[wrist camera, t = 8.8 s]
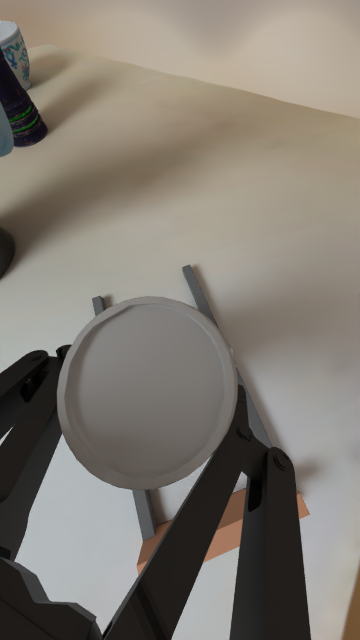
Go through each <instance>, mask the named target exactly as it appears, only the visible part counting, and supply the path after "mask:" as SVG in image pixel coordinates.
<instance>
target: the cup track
mask: <svg viewBox="0 0 360 640" xmlns="http://www.w3.org/2000/svg"><path fill="white" fill-rule="evenodd" d="M182 269H183V273H184V275H185V278H186V280H187V282H188V285H189V287H190V289H191V292H192V294H193V296H194V299H195V301H196V303H197V305H198V308H199V310H200V312H201V313H203V314H204V315H205V316H207V317H208V318H209V319H210V320H211V321H212V322H213V323H214V324H215V325H216V326H217V323H216V321H215V319H214V317H213V315H212V312H211V310H210V308H209V306H208V304H207V301H206V299H205V297H204V295H203V293H202V290H201V288H200V286H199V284H198V282H197V279H196V277H195V275H194V273H193V271H192V268H191V266H190V265H187V266H184V267H182ZM92 301H93V306H94V311H95V315H96V316H97V315H99V314H100V313H102V312H103V311H105V310H106V308H105V304H104V300H103V298H102V297H101V296H98V297H95V298H92ZM217 328H218V326H217ZM218 329H219V328H218ZM236 372H237V379H238V384H240V385H242V386H243V387H244V389H245V391H246V400H247V409H248V420H249V426H250V428H251V430H252V432H253V434H254V436H255V437H256V438H257V439H258V440H259V441H260V442H262V443H263V444H264V445H265V446H267V447H268V448H269V449H270V448H271V447H272V445H271V442H270V440H269V438H268V436H267V433H266V431H265V429H264V427H263V425H262V422H261V420H260V418H259V416H258V414H257V411H256V409H255V407H254V405H253V403H252V400H251V398H250V396H249V394H248V392H247V389H246V387H245V385H244V383H243V381H242V378H241V376H240V374H239V372H238V370H237V367H236ZM132 491H133V496H134V500H135V505H136V510H137V515H138V519H139V524H140V529H141V534H142V538H143V544H142V548H141V551H140V555H139V559H138V563H137V570H138V575H140V573H141V571H142V570H143V568H144V566H145V565H146V563H147V561H148V560H149V558H150V556H151V555H152V553H153V552H154V550H155V548H156V547H157V545H158V543H159V542H160V540H161V538H162V537H163V535H164V533H165V532H166V530H167V528H168V527H169V525H170V524H171V522H172V520H171V521H168V522H166V523H164V524H162V525H159V526H157V525H156V521H155V516H154V512H153V508H152V504H151V499H150V495H149V491H148V490H132ZM296 493H297V503H298V513H299V519H301V518H303V517H305V516H307V515H309V511H308V509H307V507H306V505H305V503H304V501H303V498H302V496H301V494H300V493H299V492H298V490H297V489H296ZM245 495H246V488H245V489H242V490H240V491H238V492H236V493H233V494H232V495H231V497H230V499H229V502H228V504H227V507H226V509H225V511H224V514H223V516H222V518H221V521H220V523H219V526H218V528H217V530H216V533H215V535H214V538H213V540H212V542H211V545H210V547H209V549H208V552H207V554H206V557H205V559H204V561H203V562H206V561H208V560H210V559H212V558H214V557H217V556H219V555H221V554H223V553H225V552H228V551H230V550H232V549H234V548H237V547H239V546H240V540H241V531H242V522H243V513H244V504H245Z"/></svg>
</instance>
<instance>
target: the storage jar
mask: <svg viewBox="0 0 360 640" xmlns="http://www.w3.org/2000/svg"><path fill="white" fill-rule="evenodd" d="M0 102H1V105H2V107H3V109H4V111H5V113H6V116H7V118H8V121H9V123H10V126H11V130H12V133H13V139H14V146H15V147H27V146H31V145H33V144H36V143H37V142H39V141H41V140H42V139H43V138H44V137H45V136H46V134H47V132H48V128H47V126H46V125H45V123H44V122H43V121H42V118H41V116H40V114H39V113H38V110H37V108H36V107H35V105H34V103H33V102H32V101H31V99H30V97H29V95H28V94H27V92H26V90H25V89H24V88H22V86H21V84H20V83H19V81H18V79H17V78H16V76H15V74H14V72H13V71H12V69H11V67H10V66H9V64H8V62H7V61H6V59H5V56H4V53H3V51H2V50H1V47H0Z"/></svg>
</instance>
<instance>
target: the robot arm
mask: <svg viewBox="0 0 360 640" xmlns="http://www.w3.org/2000/svg"><path fill="white" fill-rule="evenodd" d="M13 146H14V139H13V133H12V130H11V126H10V123H9V121H8V118H7V116H6V113H5V111H4V109H3V107H2V105H1V102H0V157H2V156H5V155H7V154H9V153H10V152H11V151H12V149H13ZM13 254H14V241H13V238H12V236H11V235H10V233H9V232H8V231H6V230H5V229H4V228H2V227H1V226H0V276H1V275H2V274H3V273H4V271H5V270H6V269H7V267H8V266H9V264H10V262H11V260H12V257H13ZM71 346H72V345H64V346H61V347H59V348H58V349H57V350H56V353H57V357H52V356H49V355H48V353H47V351H44V350H36V351H33V352H30V353H28V354H26V355H25V356H23V357H22V358H21V359H19V360H18V361H17V362H15V363H14V364H13V365H11V366H10V367H8V368H7V369H6V370H4V371H3V372H2V373H0V440H1V438H2V437H3V436H4V435H5V434H6V433H7V432H8V431H9V430H10V429H11V428H12V427H13V428H12V429H11V431H10V432H9V434H8V435H7V437H6V438H5V440H4V441H3V443H2V444H1V446H0V640H171V638H172V636H173V633H174V631H175V628H176V626H177V623H178V621H179V619H180V616H181V614H182V611H183V609H184V607H185V604H186V602H187V600H188V597H189V595H190V592H191V590H192V588H193V585H194V583H195V580H196V578H197V576H198V573H199V571H200V569H201V566H202V564H203V561H204V559H205V557H206V554H207V552H208V549H209V547H210V545H211V542H212V540H213V538H214V535H215V533H216V530H217V528H218V526H219V523H220V521H221V518H222V516H223V514H224V511H225V509H226V507H227V504H228V502H229V499H230V497H231V495H232V492H233V490H234V488H235V485H236V483H237V480H238V478H239V476H240V473H241V471H242V472H243V473H244V474H246V475H247V476H248V477H247V486H246V495H245V504H244V513H243V522H242V531H241V540H240V549H239V558H238V567H237V576H236V585H235V594H234V603H233V612H232V621H231V630H230V639H229V640H311V634H310V624H309V614H308V604H307V594H306V584H305V574H304V563H303V553H302V543H301V533H300V523H299V513H298V503H297V493H296V483H295V472H294V467H293V464H292V462H291V460H290V458H289V457H288V456H287V455H286V453H285V452H283V451H282V450H281V449H279V448H277V447H271V448H270V449H269V448H268V447H267V446H265V445H264V444H263V443H262V442H260V441H259V440H258V439H257V438H256V437H255V436H254V434H253V432H252V430H251V428H250V427H249V420H248V409H247V400H246V391H245V389H244V387H243V386H242V385H240V384H238V392H237V403H236V407H235V412H234V416H233V419H232V422H231V424H230V427H229V429H228V432H227V433H226V435H225V437H224V438H223V440H222V441H221V443H220V445H219V446H218V448H217V449H216V450H215V452H214V453H213V454H212V456H211V458H210V459H209V461H208V463H207V464H206V466H205V468H204V469H203V471H202V473H201V474H200V476H199V477H198V479H197V481H196V482H195V484H194V486H193V487H192V489H191V491H190V492H189V494H188V496H187V497H186V499H185V500H184V502H183V504H182V505H181V507H180V509H179V510H178V512H177V514H176V515H175V517H174V519H173V520H172V522H171V524H170V525H169V527H168V528H167V530H166V532H165V533H164V535H163V537H162V538H161V540H160V542H159V543H158V545H157V547H156V548H155V550H154V552H153V553H152V555H151V556H150V558H149V560H148V561H147V563H146V565H145V566H144V568H143V570H142V571H141V573H140V575H139V576H138V578H137V579H136V581H135V583H134V584H133V586H132V587H131V589H130V590H129V592H128V594H127V595H126V597H125V598H124V600H123V602H122V603H121V605H120V607H119V608H118V610H117V611H116V613H115V615H114V616H113V618H112V620H111V621H110V623H109V625H108V626H107V628H106V630H105V631H104V633H103V634H101V631H100V629H99V627H98V625H97V623H96V621H95V620H96V616H95V615H93V614H92V613H91V612H89V611H88V610H86V609H85V608H83V607H82V606H80V605H79V604H77V603H71V602H52V601H50V600H49V599H48V597H47V595H46V593H45V591H44V589H43V587H42V585H41V583H40V581H39V579H38V577H37V575H35V574H34V573H32V572H31V571H29V570H28V569H26V568H25V567H24V566H22V565H21V564H19V563H16V562H14V561H15V558H16V556H17V553H18V551H19V548H20V546H21V543H22V540H23V538H24V535H25V532H26V528H27V523H28V516H29V513H30V510H31V507H32V505H33V503H34V500H35V498H36V495H37V493H38V491H39V488H40V486H41V483H42V481H43V478H44V476H45V474H46V471H47V469H48V466H49V464H50V462H51V459H52V457H53V454H54V452H55V449H56V447H57V445H58V442H59V440H60V437H61V435H62V430H61V426H60V421H59V417H58V410H57V389H58V382H59V376H60V372H61V369H62V366H63V363H64V360H65V358H66V355H67V352H68V351H69V349H70V347H71ZM230 350H231V353H232V356H233V349H232V348H230ZM29 379H30V380H29ZM14 424H15V425H14Z"/></svg>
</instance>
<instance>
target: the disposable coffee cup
mask: <svg viewBox="0 0 360 640" xmlns="http://www.w3.org/2000/svg"><path fill="white" fill-rule="evenodd" d="M237 392H238V379H237V372H236V364H235V361H234V358H233V356H232V353H231V350H230V347H229V344H228V343H227V341H226V339H225V338H224V336H223V335H222V333H221V331H220V330H219V329H218V328H217V326H216V325H215V324H214V323H213V322H212V321H211V320H210V319H209V318H208V317H207V316H205V315H204V314H203V313H201V312H200V311H198V310H197V309H196V308H194V307H191V306H189V305H187V304H185V303H182V302H180V301H176V300H172V299H168V298H164V297H151V296H147V297H140V298H134V299H130V300H126V301H123V302H120V303H118V304H116V305H114V306H112V307H109V308H108V309H106V310H105V311H103V312H102V313H100V314H99V315H97V316H96V317H95V318H94V319H93V320H92V321H90V322H89V323H88V324H87V325H86V326H85V327H84V329H83V330H82V331H81V332H80V333H79V335H78V336H77V338H76V339H75V341H74V342H73V344H72V346H71V347H70V349H69V351H68V352H67V355H66V358H65V360H64V363H63V366H62V369H61V372H60V376H59V382H58V389H57V410H58V417H59V421H60V426H61V430H62V433H63V435H64V438H65V440H66V443H67V444H68V446H69V448H70V449H71V451H72V453H73V454H74V456H75V457H76V459H77V460H78V461H79V462H80V463H81V464H82V465H83V466H84V467H85V468H86V469H87V470H88V471H89V472H90V473H91V474H93V475H94V476H96V477H97V478H99V479H100V480H102V481H104V482H106V483H109V484H111V485H113V486H116V487H119V488H125V489H131V490H149V489H157V488H160V487H163V486H166V485H169V484H172V483H174V482H176V481H179V480H181V479H183V478H185V477H187V476H188V475H190V474H191V473H192V472H193V471H195V470H196V469H197V468H198V467H200V466H201V465H202V464H203V463H204V462H205V461H206V460H207V459H208V458H209V457H210V456H211V455H212V454H213V453H214V452H215V450H216V449H217V448H218V446H219V445H220V443H221V441H222V440H223V438H224V437H225V435H226V433H227V432H228V429H229V427H230V424H231V422H232V419H233V416H234V412H235V407H236V403H237Z"/></svg>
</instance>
